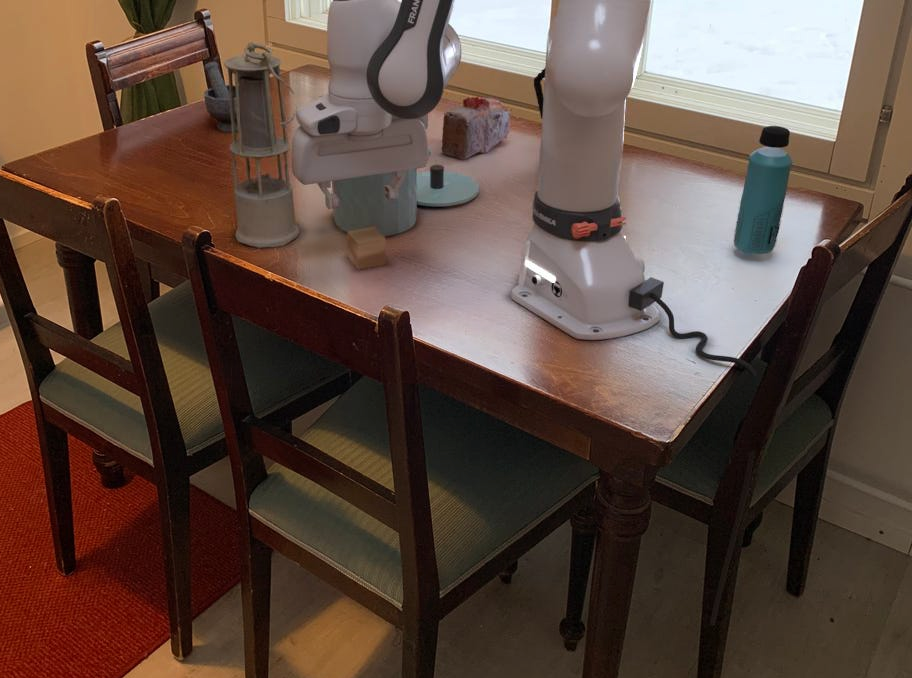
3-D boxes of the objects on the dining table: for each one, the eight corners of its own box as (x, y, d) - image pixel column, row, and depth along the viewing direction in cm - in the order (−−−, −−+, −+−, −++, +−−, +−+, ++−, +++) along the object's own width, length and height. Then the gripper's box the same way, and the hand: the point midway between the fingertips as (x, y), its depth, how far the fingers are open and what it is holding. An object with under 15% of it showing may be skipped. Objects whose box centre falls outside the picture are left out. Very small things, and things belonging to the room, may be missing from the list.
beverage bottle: (766, 267, 153) (793, 139, 142) (724, 257, 156) (747, 131, 145) (778, 251, 158) (806, 126, 147) (737, 241, 161) (761, 118, 149)
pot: (444, 225, 165) (445, 158, 159) (335, 245, 159) (331, 176, 152) (411, 195, 176) (411, 131, 169) (308, 213, 169) (303, 147, 162)
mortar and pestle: (265, 126, 204) (259, 66, 197) (227, 137, 199) (220, 76, 192) (232, 113, 211) (225, 55, 204) (194, 124, 205) (186, 64, 198)
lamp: (273, 215, 168) (257, 29, 151) (323, 239, 161) (311, 47, 144) (222, 233, 162) (199, 42, 145) (271, 259, 155) (252, 61, 138)
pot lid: (493, 201, 174) (494, 175, 171) (416, 215, 169) (416, 189, 166) (455, 172, 185) (456, 147, 182) (382, 184, 179) (381, 159, 177)
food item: (479, 134, 201) (480, 85, 195) (512, 143, 197) (514, 93, 191) (437, 153, 192) (437, 102, 187) (470, 163, 188) (472, 111, 183)
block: (386, 264, 154) (385, 237, 151) (358, 270, 152) (357, 242, 149) (375, 252, 157) (374, 226, 154) (348, 258, 155) (346, 231, 153)
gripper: (419, 95, 147) (417, 185, 155) (284, 111, 140) (290, 204, 148) (437, 108, 142) (434, 200, 150) (299, 125, 135) (304, 221, 143)
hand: (362, 202), depth 149 cm, fingers open, 8 cm apart
